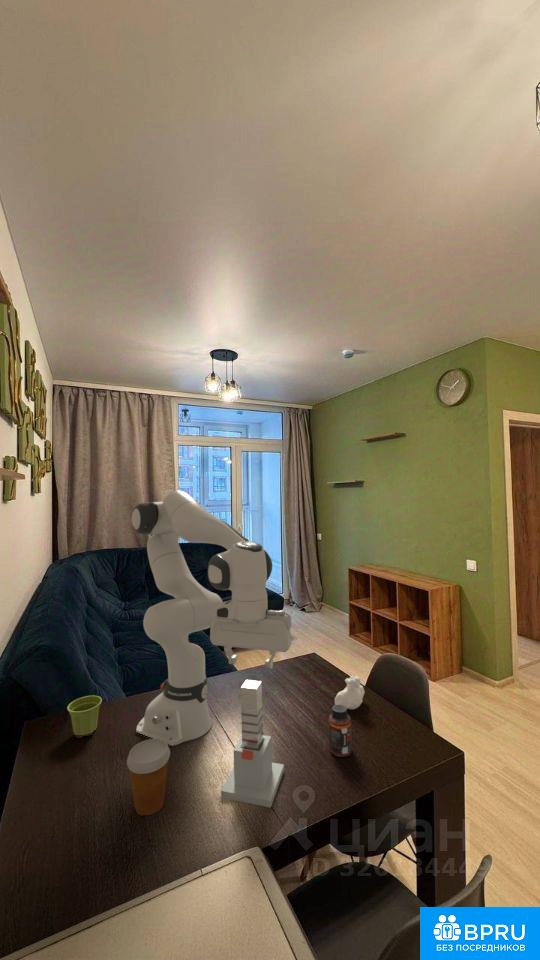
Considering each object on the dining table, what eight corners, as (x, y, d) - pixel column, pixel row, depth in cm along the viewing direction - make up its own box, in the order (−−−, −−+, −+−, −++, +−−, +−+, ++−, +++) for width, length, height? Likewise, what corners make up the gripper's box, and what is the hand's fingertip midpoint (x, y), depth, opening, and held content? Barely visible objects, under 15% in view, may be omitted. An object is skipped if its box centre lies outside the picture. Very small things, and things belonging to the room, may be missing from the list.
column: (242, 755, 93) (240, 687, 93) (248, 745, 97) (246, 679, 97) (258, 758, 91) (256, 689, 92) (263, 747, 95) (261, 681, 96)
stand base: (221, 797, 90) (220, 752, 90) (239, 762, 101) (238, 723, 102) (270, 807, 86) (269, 761, 87) (284, 770, 98) (282, 730, 98)
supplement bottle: (352, 759, 101) (350, 715, 102) (329, 757, 102) (327, 713, 103) (352, 745, 107) (350, 703, 107) (330, 743, 108) (328, 701, 109)
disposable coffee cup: (147, 829, 82) (146, 770, 82) (118, 810, 87) (117, 755, 87) (179, 798, 90) (178, 745, 90) (151, 783, 95) (150, 733, 95)
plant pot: (60, 738, 114) (59, 708, 114) (86, 721, 122) (86, 693, 123) (83, 745, 110) (83, 714, 110) (109, 727, 119) (108, 698, 119)
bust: (338, 719, 123) (352, 700, 118) (325, 696, 128) (338, 677, 123) (365, 707, 129) (380, 688, 124) (351, 686, 135) (365, 667, 129)
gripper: (293, 607, 95) (295, 664, 95) (217, 602, 101) (218, 656, 101) (287, 615, 89) (288, 676, 89) (206, 609, 95) (207, 666, 95)
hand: (250, 665), depth 95 cm, fingers open, 8 cm apart
